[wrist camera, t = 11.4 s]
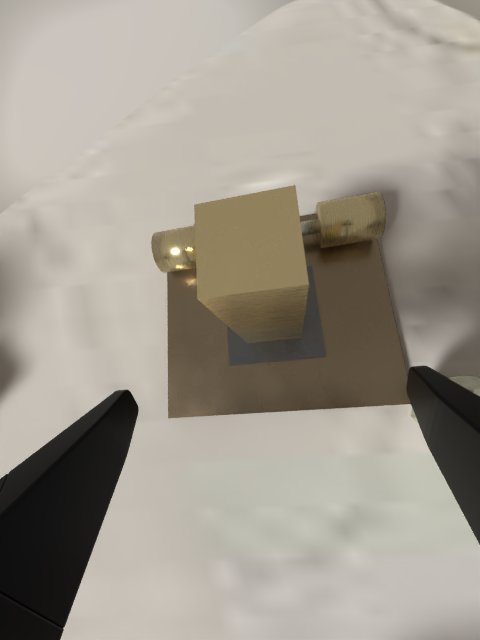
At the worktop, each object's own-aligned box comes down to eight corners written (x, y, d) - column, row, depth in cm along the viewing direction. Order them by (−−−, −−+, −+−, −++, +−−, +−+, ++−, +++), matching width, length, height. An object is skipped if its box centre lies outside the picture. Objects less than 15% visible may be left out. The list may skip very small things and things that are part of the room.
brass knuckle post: (301, 337, 20) (308, 284, 9) (247, 343, 20) (197, 298, 10) (295, 286, 21) (295, 185, 10) (243, 293, 21) (194, 204, 11)
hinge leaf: (408, 403, 18) (438, 407, 15) (172, 416, 21) (146, 423, 17) (366, 210, 22) (381, 174, 18) (171, 244, 25) (148, 219, 21)
